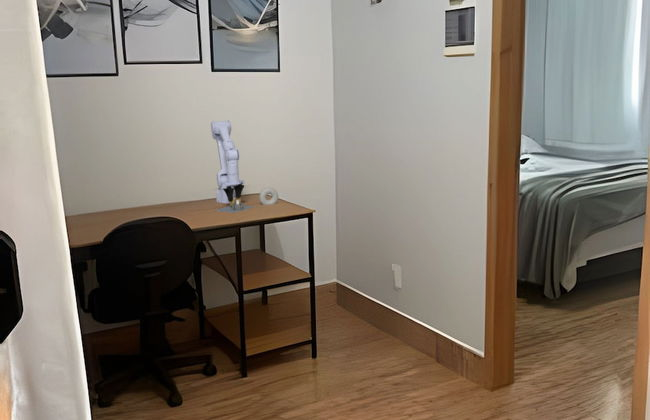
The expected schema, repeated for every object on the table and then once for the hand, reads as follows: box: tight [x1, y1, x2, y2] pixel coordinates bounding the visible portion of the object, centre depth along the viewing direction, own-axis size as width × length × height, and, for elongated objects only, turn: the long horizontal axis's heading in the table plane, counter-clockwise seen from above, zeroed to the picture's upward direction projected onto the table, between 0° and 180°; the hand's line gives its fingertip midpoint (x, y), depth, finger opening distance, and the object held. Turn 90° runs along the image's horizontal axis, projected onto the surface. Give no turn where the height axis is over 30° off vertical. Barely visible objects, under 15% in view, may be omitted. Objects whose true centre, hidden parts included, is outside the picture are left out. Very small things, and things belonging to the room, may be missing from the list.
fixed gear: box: [232, 202, 245, 211], centre depth 312 cm, size 5×5×3 cm
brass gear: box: [229, 196, 242, 206], centre depth 318 cm, size 6×6×4 cm
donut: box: [258, 187, 279, 206], centre depth 323 cm, size 10×3×10 cm, turn 109°
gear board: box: [214, 198, 255, 214], centre depth 314 cm, size 13×16×6 cm
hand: (234, 200), depth 318 cm, fingers closed on brass gear, 5 cm apart
